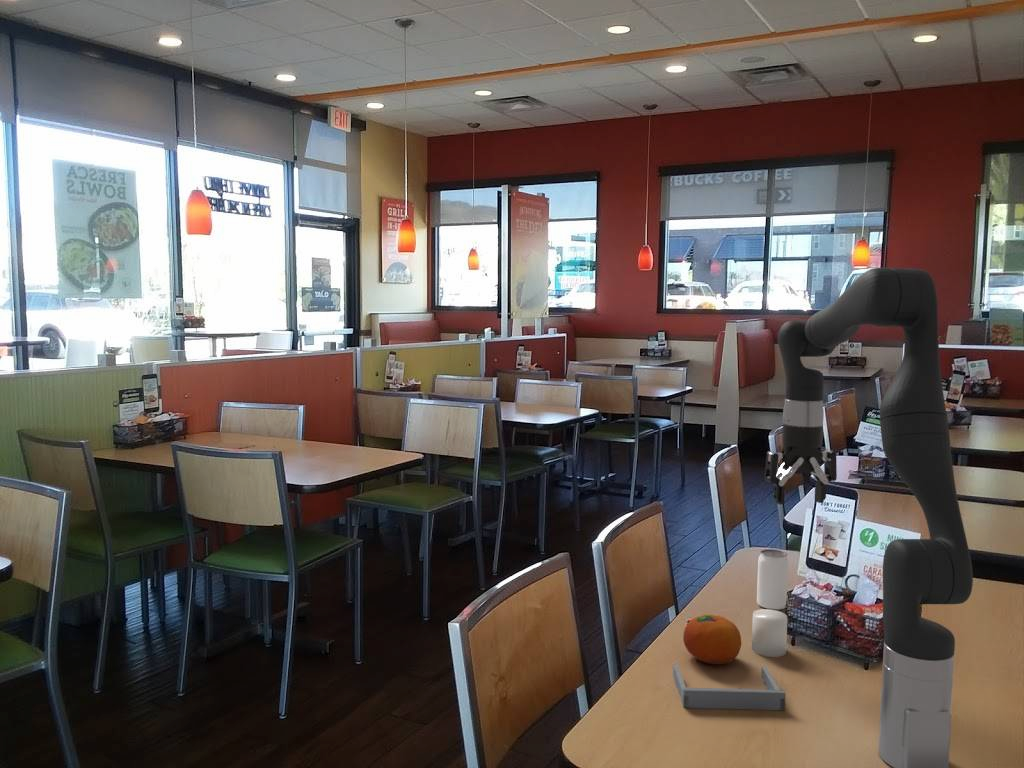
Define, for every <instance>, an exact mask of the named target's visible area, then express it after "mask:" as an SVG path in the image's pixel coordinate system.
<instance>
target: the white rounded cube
mask: <svg viewBox="0 0 1024 768" xmlns="http://www.w3.org/2000/svg"><path fill="white" fill-rule="evenodd" d="M751 625H752V628H751V630H752V631H751V632H752V633H751V650H752V652H754V653H756V654H757V655H759V656H763V657H766V658H767V657H768V658H780V657H783V656H785V655H786V654H787V638H788V637H787V636H788V616H787V614H786V613H784V612H782V611H780V610H770V609H765V608H761V609H757V610H754V611H753V613H752V624H751Z"/></svg>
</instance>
